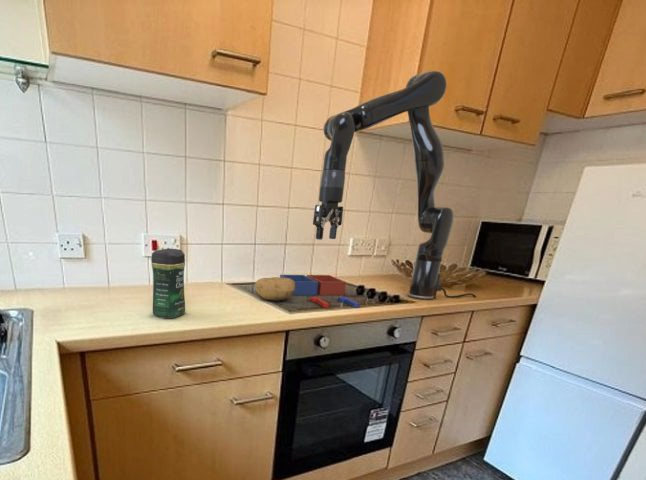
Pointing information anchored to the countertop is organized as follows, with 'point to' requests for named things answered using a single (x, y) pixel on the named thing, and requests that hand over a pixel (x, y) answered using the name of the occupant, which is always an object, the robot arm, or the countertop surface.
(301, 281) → the blue bin
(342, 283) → the red bin
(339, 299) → the blue spoon
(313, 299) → the red spoon
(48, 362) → the countertop surface
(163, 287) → the coffee jar
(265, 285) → the potato
